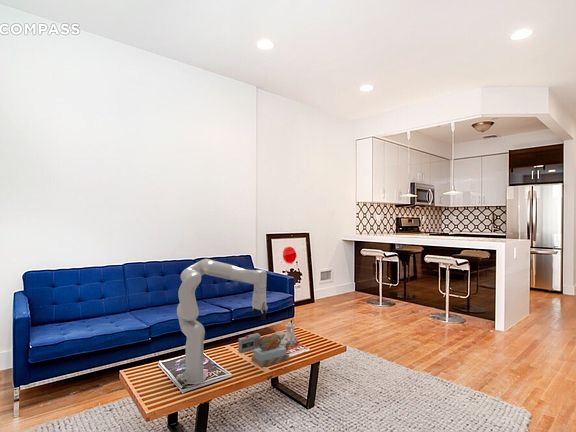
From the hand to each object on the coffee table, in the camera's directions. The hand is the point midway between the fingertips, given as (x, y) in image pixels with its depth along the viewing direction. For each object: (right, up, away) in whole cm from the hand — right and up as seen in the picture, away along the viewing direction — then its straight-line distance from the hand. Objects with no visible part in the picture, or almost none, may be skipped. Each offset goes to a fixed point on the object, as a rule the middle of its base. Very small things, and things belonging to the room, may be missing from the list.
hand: (259, 317), depth 210 cm
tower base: (+7, -28, +3) cm, 29 cm away
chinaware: (+16, -28, +30) cm, 44 cm away
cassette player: (-8, -28, +20) cm, 35 cm away
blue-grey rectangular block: (+7, -24, +3) cm, 25 cm away
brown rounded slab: (+6, -21, +3) cm, 22 cm away
